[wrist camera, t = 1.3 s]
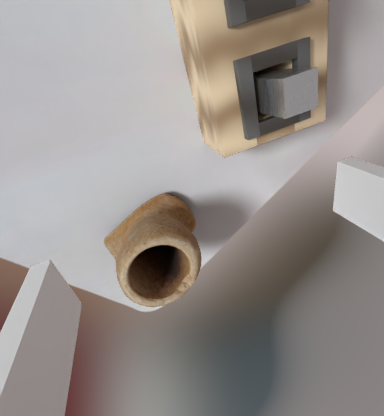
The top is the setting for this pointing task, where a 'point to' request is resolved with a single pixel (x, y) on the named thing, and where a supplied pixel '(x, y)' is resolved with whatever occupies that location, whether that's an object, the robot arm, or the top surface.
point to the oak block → (248, 63)
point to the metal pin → (286, 91)
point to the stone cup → (156, 252)
